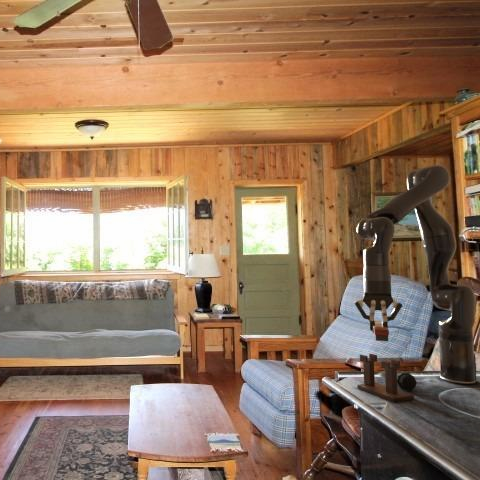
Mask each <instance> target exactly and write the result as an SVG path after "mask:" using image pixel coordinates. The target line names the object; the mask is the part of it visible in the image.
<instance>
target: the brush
mask: <svg viewBox="0 0 480 480" xmlns="http://www.w3.org/2000/svg"><path fill="white" fill-rule="evenodd" d="M374 321H375V327H373V329H374V333H373V334H374V339H375V341H378V342H389V336H390V330H389V327H388V328H387V327H383V325H382V321H381V320H374Z"/></svg>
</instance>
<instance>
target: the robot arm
mask: <svg viewBox="0 0 480 480" xmlns="http://www.w3.org/2000/svg"><path fill="white" fill-rule="evenodd" d="M450 181H451V175H450V172H449V170H448V169H447V167H446V166H443V165H440V164H433V165H428V166H424V167H420V168H415V169H412V170H410V171H409V172H407V176H406V187H407V190H405V191H403V192H401V193H399V194H397V195H395V196H393V197H392V198H390V200H388V201H387V202H386V203H385V204H383V205H382V207H380V208H378V209H377V210H375V211H372V212H371V213H370V214H367V215H366V216H364V217H363V218H361V220H359V222H358V223H357V226H356V233H357V235H358V236H359V238H361V239H363V240H374V242H373V245H371V246H367V247H365V248H364V249H363V270H362V273H363V274H362V275H363V276H362V278H363V280H362V282H363V296H362V297H361V299H359V300H356V301H354V305H355V307H356V309H357V310H358V312H359V313H360V315H361V316H362V318H363V319H365V320H367V321H369V330H370V332H372V334H374V329H373V327H375V321H376V320H375V313H376V311H380V312H381V317H382V320H381V324H382V325H383V327H387V328H388V329H389V322H390V321H394V320H395V319H396V317H397V316H398V315H399V313H400V311H401V309H402V308H403V304H402V303H401V302H398V301H396V300H394V298H393V296H392V276H391V269H390V249H391V246H392V242H393V238H394V235H395V231H396V230H395V225H397V224H400V223H401V221H402V220H403V219H404V218H405V217H406V216H408V215H409V214H411V212H412V211H414V212H415V215H416V219H417V223H418V227H419V233H420V238H421V243H422V247H423V251H424V255H425V260H426V265H427V272H428V281H429V292H430V298H431V301H432V303H433V305H434V306H435V307H436V308H438V309H440V310H443V311H451V312H450V317H449V318H447V319H441V320H440V321H439V322H438V342H439V344H438V345H439V370H440V371H439V372H440V375H439V379H441V380H442V381H444V382H449V383H453V384H459V385H474V384H476V382H477V362H476V359H477V358H476V353H475V351H474V349H475V348H474V326H475V323H476V304H477V303H476V293H475V292H474V290H473V289H472V287H470V286H468V285H465V284H455V283H454V284H453V283H451V280H450V277H449V276H450V275H449V266H450V264H451V262H452V259H453V258H454V256H455V253H456V250H457V241H456V236H455V231H454V227H453V226H452V224H451V223H450V222H449V221H448V220H447V219H446V218H445V217H444V216H443V215H442V214H441V213H440V212H439V211H437V209H436V208H435V206H434V205H433V203H432V200H431V198H432V197H433V196H435V195H438V194H439V193H440V192H442V191H443V190H445V189H446V188H448V186H449V184H450ZM364 304H365V305H366V306H367V308H368V309H369V312H368V313H369V314H367V313H366V312H365V310H364V309H363V306H364ZM391 305H392V308H393V310H392V311H391V313H390V314H389V315H388V312H387V310H388V309H389V308H390V306H391Z"/></svg>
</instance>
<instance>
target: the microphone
mask: <svg viewBox="0 0 480 480" xmlns="http://www.w3.org/2000/svg"><path fill="white" fill-rule="evenodd" d="M380 374H381V375H382V376H383V377H384V378H385V371H382V372H380ZM417 384H418V383H417V380H416V377H415V376H414V375H412V374H411V373H410V372H400V373H397V388H400V389H401V390H402V391H404V392H412V390H414V389H416V387H417Z"/></svg>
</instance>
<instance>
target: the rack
mask: <svg viewBox="0 0 480 480" xmlns="http://www.w3.org/2000/svg"><path fill="white" fill-rule="evenodd" d="M390 360H391V361H387V360H381V361H380V362H381V368H383V369H384V372H385V377H384V378H385V384H382V383H379V382H376V379H375V363H377V362H378V355H377V354H374V353H368V355H365V354H359V362H362V363H363V366H362V367H363V383H362V384H357V386H356V387H357V388H356V389H358V390H360V391H363V392H366V393H367V394H371V395H374V396H377V397H380V398H382V399H385V400H387V401H390V402H393V403H396V402H405V401H409V400H414V399H415V395H414V394H411V393H408V392H407V391H404V390H400V389H398V384H397V374H398V369H401V361H400V360H397V359H390Z"/></svg>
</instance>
